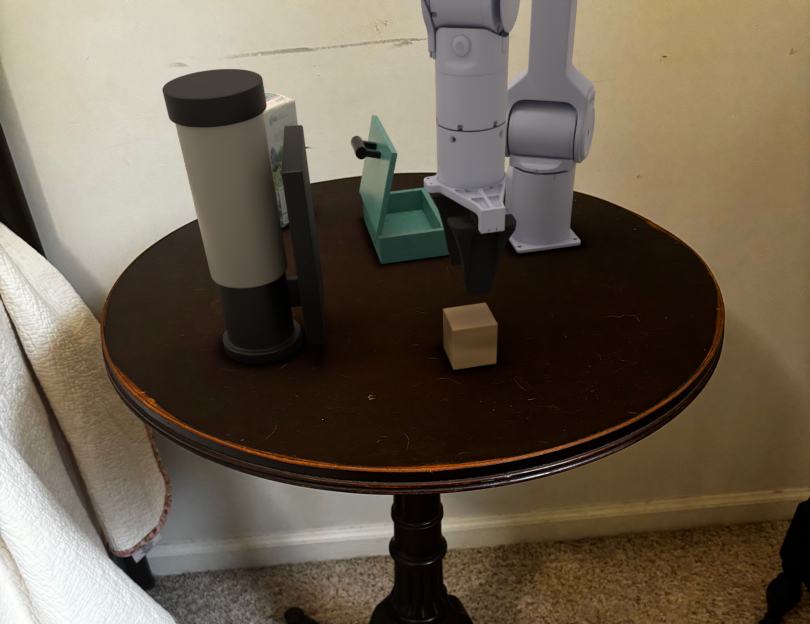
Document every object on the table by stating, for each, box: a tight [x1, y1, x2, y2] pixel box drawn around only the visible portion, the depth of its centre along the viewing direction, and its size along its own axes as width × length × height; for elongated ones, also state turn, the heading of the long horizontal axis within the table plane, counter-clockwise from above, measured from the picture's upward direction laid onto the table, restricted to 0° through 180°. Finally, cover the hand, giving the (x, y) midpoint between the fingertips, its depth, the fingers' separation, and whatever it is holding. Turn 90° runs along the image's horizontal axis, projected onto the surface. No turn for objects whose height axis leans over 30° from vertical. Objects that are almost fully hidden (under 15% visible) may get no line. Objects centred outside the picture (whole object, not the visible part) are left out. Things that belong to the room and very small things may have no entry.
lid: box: [350, 114, 398, 235], centre depth 95 cm, size 9×13×4 cm
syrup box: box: [263, 91, 299, 229], centre depth 102 cm, size 6×6×14 cm
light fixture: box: [162, 68, 327, 365], centre depth 76 cm, size 12×11×25 cm
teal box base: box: [361, 186, 449, 265], centre depth 100 cm, size 8×13×3 cm, turn 11°
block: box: [442, 302, 499, 371], centre depth 79 cm, size 4×4×4 cm
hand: (470, 277), depth 75 cm, fingers open, 6 cm apart
